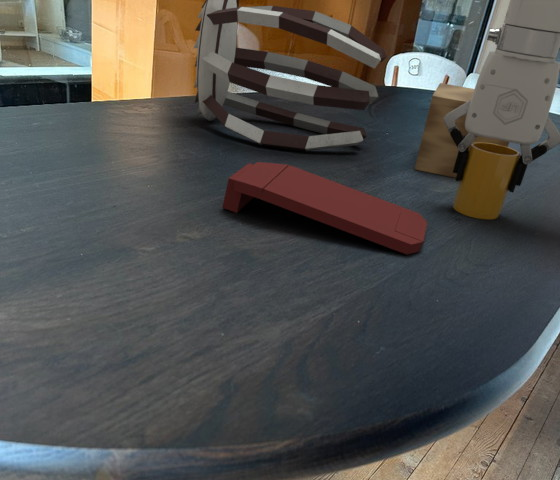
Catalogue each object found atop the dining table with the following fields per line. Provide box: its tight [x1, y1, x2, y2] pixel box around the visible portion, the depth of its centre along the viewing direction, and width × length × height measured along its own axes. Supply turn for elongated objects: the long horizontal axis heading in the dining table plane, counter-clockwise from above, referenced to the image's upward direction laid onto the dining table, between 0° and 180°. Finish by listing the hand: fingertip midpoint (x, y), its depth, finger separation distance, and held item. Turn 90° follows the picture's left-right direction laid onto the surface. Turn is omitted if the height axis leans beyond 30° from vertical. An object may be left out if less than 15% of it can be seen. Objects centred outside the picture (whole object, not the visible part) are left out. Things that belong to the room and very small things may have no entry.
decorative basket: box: [193, 0, 388, 152], centre depth 105 cm, size 24×27×35 cm
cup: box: [452, 142, 521, 220], centre depth 85 cm, size 7×7×9 cm
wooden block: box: [414, 82, 510, 179], centre depth 106 cm, size 14×18×12 cm
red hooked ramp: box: [222, 161, 428, 255], centre depth 76 cm, size 12×5×25 cm
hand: (484, 183), depth 85 cm, fingers closed on cup, 6 cm apart
